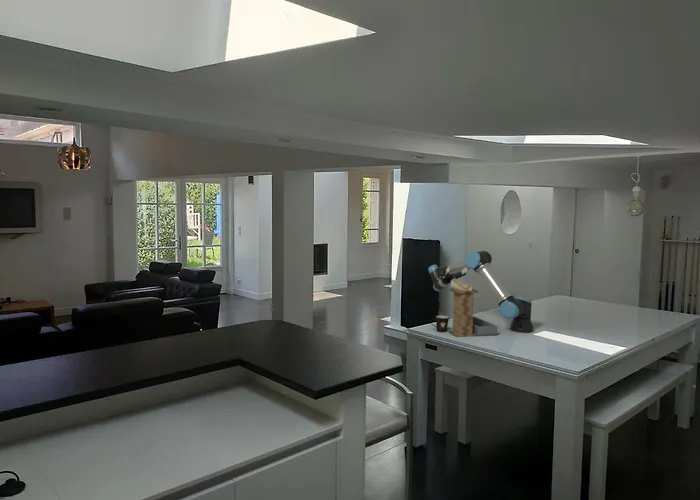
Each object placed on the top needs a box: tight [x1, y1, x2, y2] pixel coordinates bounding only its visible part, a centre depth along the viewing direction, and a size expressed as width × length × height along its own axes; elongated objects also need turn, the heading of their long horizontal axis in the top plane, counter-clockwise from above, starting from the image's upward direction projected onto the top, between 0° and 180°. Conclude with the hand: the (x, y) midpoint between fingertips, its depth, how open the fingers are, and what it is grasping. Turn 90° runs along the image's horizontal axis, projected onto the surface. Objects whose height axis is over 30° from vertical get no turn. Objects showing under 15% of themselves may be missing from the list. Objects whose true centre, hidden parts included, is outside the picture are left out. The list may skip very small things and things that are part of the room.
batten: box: [450, 279, 473, 291], centre depth 353 cm, size 4×22×4 cm, turn 15°
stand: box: [448, 287, 479, 338], centre depth 350 cm, size 14×12×30 cm
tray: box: [472, 315, 498, 337], centre depth 365 cm, size 14×32×6 cm, turn 15°
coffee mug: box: [430, 315, 450, 333], centre depth 359 cm, size 12×9×10 cm
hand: (457, 269), depth 375 cm, fingers open, 13 cm apart
